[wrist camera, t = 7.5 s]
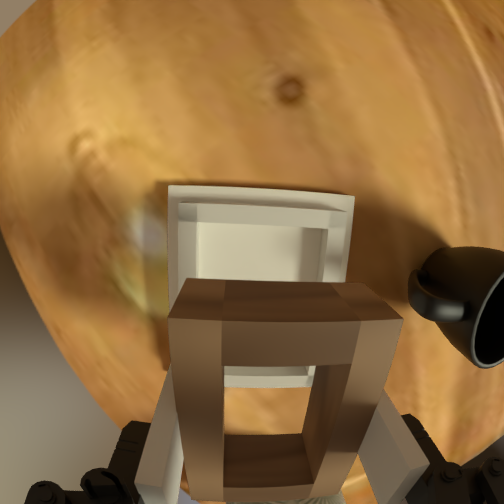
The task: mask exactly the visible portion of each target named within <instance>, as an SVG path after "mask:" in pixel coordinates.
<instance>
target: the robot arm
mask: <svg viewBox="0 0 504 504" xmlns="http://www.w3.org/2000/svg"><path fill="white" fill-rule="evenodd" d="M358 455H359V457H360V460H361V462H362V465H363V467H364V470H365V472H366V475H367V477H368V480H369V482H370V485H371V487H372V490H373V492H374V495H375V497H376V500H377V502H378V504H400V503H401V502H402V501H403V499H404V498H406V500H407V502H408V504H483V502H484V501H485V500H486V502H487V504H504V460H502V459H500V458H497V457H492V458H488V459H487V460H485V461H484V463H483V464H482V465H481V467H476V468H467V469H462V467H461V466H459V465H458V464H456V463H453V462H447V461H446V460H445V459H444V457H443V456H442V454H441V453H440V451H439V450H438V448H437V447H436V445H435V444H434V442H433V441H432V439H431V438H430V437H429V435H428V433H427V432H426V430H424V427H423V426H422V424H421V423H420V421H419V420H418V419H416V418H415V417H414V416H412V415H411V414H405V415H401V416H400V414H399V412H398V411H397V409H396V408H395V406H394V404H393V403H392V401H391V400H390V398H389V397H388V395H387V394H386V392H385V390H384V389H383V391H382V394H381V397H380V400H379V402H378V405H377V407H376V409H375V412H374V414H373V417H372V420H371V422H370V425H369V427H368V429H367V432H366V434H365V437H364V439H363V441H362V444H361V446H360V448H359V450H358ZM183 460H184V457H183V450H182V444H181V437H180V430H179V423H178V415H177V412H176V405H175V397H174V389H173V380H172V370H171V363H170V366H169V369H168V372H167V375H166V379H165V382H164V385H163V388H162V391H161V394H160V397H159V400H158V404H157V407H156V410H155V413H154V416H153V420H152V423H145V422H139V421H131V422H129V423H128V424H127V425H126V426H125V427H124V428H123V430H122V432H121V435H120V437H119V441H118V442H117V445H116V449H115V450H114V453H113V455H112V458H111V461H110V463H109V466H108V469H106V468H96V469H92V470H90V471H88V472H87V473H85V475H84V476H83V477H82V479H81V484H80V486H81V487H82V489H83V490H84V491H66V490H62V488H60V486H59V485H57V484H55V483H53V482H51V481H40V482H37V483H35V484H34V485H32V486H31V488H30V490H29V492H28V494H27V497H26V500H25V503H24V504H177V501H178V493H179V487H180V480H181V474H182V467H183Z"/></svg>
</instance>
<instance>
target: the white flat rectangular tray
mask: <svg viewBox="0 0 504 504" xmlns="http://www.w3.org/2000/svg"><path fill="white" fill-rule="evenodd" d="M354 201H355V196H351V195H342V194H332V193H321V192H309V191H296V190H283V189H267V188H249V187H228V186H198V185H168V234H167V237H168V291H169V313H170V311H171V309H172V307H173V305H174V303H175V300H176V298H177V296H178V294H179V292H180V290H181V288H182V286H183V284H184V282H185V280H186V278H203V279H227V280H256V281H293V282H345V278H346V271H347V264H348V256H349V248H350V240H351V231H352V222H353V212H354ZM315 367H316V366H292V367H243V366H224V387H240V388H292V387H312V383H313V378H314V372H315Z"/></svg>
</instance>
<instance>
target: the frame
mask: <svg viewBox="0 0 504 504" xmlns="http://www.w3.org/2000/svg"><path fill="white" fill-rule="evenodd" d="M403 320H404V319H403V318H402V317H401V316H400V315H399V314H398V313H397V312H396V311H395V310H393V309H392V308H391V307H390V306H389V305H388V304H387V303H386V302H385V301H383V300H382V299H381V298H380V297H379V296H378V295H377V294H376V293H374V292H373V291H372V290H371V289H370V288H369V287H368V286H367V285H365V284H364V283H356V282H293V281H256V280H227V279H203V278H186V280H185V282H184V284H183V286H182V288H181V290H180V292H179V294H178V296H177V298H176V300H175V303H174V305H173V307H172V309H171V311H170V313H169V315H168V317H167V321H168V336H169V348H170V359H171V370H172V380H173V389H174V397H175V405H176V412H177V415H178V423H179V430H180V437H181V444H182V450H183V457H184V464H185V470H186V475H187V480H188V485H189V490H190V495H191V499H192V500H202V501H218V502H269V501H286V500H298V499H307V498H315V497H323V496H330V495H336V494H338V493H339V491H340V489H341V487H342V485H343V483H344V481H345V479H346V477H347V475H348V473H349V471H350V469H351V467H352V465H353V463H354V461H355V459H356V456H357V454H358V450H359V448H360V446H361V444H362V441H363V439H364V437H365V434H366V432H367V429H368V427H369V425H370V422H371V420H372V417H373V414H374V412H375V409H376V407H377V405H378V402H379V400H380V397H381V394H382V391H383V388H384V385H385V382H386V379H387V376H388V373H389V370H390V367H391V364H392V360H393V357H394V353H395V350H396V346H397V343H398V339H399V335H400V332H401V328H402V324H403ZM224 366H243V367H292V366H316V367H315V372H314V378H313V383H312V388H311V393H310V398H309V402H308V407H307V412H306V416H305V421H304V425H303V429H302V433H298V434H279V435H224Z"/></svg>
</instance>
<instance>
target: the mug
mask: <svg viewBox="0 0 504 504" xmlns="http://www.w3.org/2000/svg"><path fill="white" fill-rule="evenodd" d="M408 298H409V303H410V305H411V307H412V308H413V309H414V310H415V311H416V312H417V313H418V314H419V315H421V316H422V317H424V318H426V319H428V320H431V321H434V322H435V323H436V324H437V325H438V327H439V328H440V330H441V331H442V332H443V334H444V335H445V337H446V338H447V339H448V340H449V341H450V343H451V344H452V345H453V346H454V347H455V348H456V349H457V350H458V351H460V352H461V353H462V354H463V355H464V356H465V357H466V358H467V359H468V360H469V361H471V362H472V363H473V364H474V365H475V366H477V367H479V368H484V369H488V368H492V367H494V366H496V365H498V364H500V363H502V362H503V361H504V252H503V251H500V250H496V249H490V248H484V247H467V246H466V247H454V248H441V249H439V250H437V251H435V252H433V253H432V254H431V255H430V256H429V257H428V258H427V260H426V261H425V263H424V264H423V266H422V268H421V270H419V269H416V270H414V271H413V272H412V273H411V275H410V277H409V281H408Z"/></svg>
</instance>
